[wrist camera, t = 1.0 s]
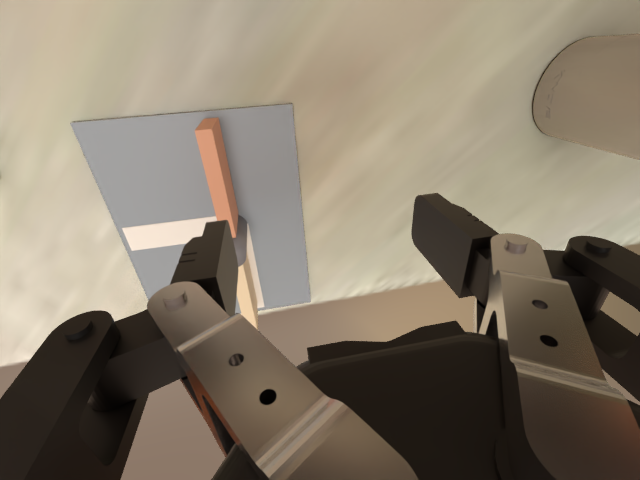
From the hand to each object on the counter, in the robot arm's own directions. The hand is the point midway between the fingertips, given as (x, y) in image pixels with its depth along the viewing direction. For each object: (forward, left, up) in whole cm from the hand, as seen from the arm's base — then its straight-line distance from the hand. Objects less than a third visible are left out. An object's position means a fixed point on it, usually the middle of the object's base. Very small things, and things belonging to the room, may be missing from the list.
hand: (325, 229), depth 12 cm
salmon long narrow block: (+6, +3, -19) cm, 20 cm away
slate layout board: (+8, +9, -20) cm, 23 cm away
